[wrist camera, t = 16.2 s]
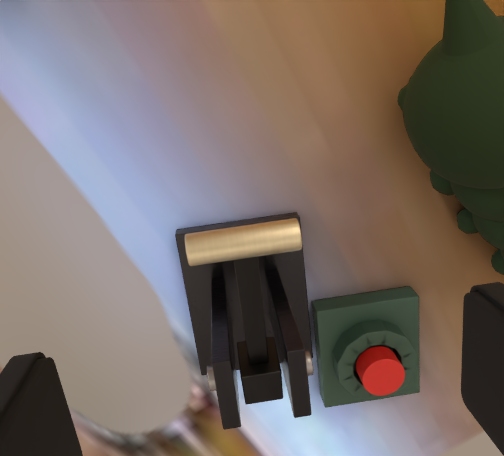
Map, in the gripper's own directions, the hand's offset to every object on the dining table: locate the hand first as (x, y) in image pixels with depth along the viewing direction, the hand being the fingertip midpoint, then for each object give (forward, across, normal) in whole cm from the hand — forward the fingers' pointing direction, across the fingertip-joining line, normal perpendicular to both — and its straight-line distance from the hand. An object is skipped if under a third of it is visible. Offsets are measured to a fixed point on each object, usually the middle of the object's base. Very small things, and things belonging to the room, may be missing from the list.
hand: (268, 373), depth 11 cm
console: (+24, -9, +16) cm, 30 cm away
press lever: (+14, 0, +5) cm, 15 cm away
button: (+21, -9, +16) cm, 28 cm away
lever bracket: (+24, 0, +10) cm, 26 cm away
